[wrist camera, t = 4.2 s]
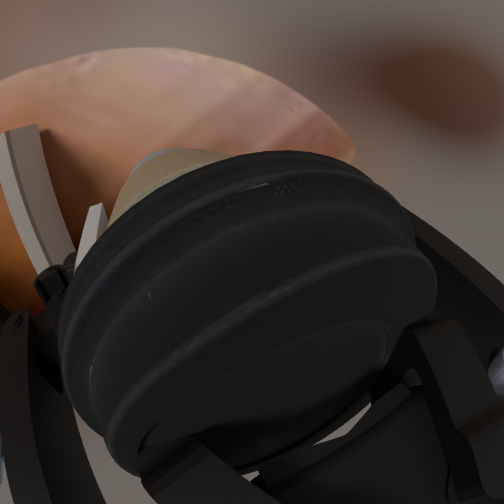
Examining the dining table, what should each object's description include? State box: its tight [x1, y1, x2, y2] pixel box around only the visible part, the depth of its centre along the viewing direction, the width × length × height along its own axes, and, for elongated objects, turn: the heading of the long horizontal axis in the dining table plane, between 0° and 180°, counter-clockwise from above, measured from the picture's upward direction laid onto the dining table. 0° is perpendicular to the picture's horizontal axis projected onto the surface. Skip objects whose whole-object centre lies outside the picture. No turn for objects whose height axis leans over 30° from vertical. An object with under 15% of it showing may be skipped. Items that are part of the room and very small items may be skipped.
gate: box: [0, 124, 76, 275], centre depth 17 cm, size 14×1×8 cm, turn 6°
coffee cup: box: [57, 148, 437, 478], centre depth 11 cm, size 9×9×15 cm
